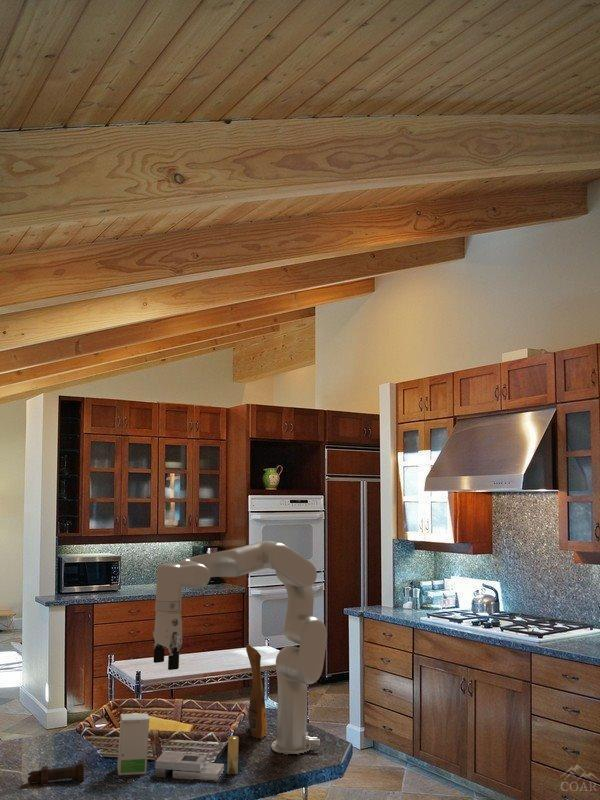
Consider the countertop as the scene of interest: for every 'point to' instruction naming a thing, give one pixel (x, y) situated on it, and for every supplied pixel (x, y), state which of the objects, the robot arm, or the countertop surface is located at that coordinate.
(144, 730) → the skincare box
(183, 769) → the grey electronic gadget
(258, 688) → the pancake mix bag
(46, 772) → the bolt
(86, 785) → the countertop surface
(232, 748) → the pin
